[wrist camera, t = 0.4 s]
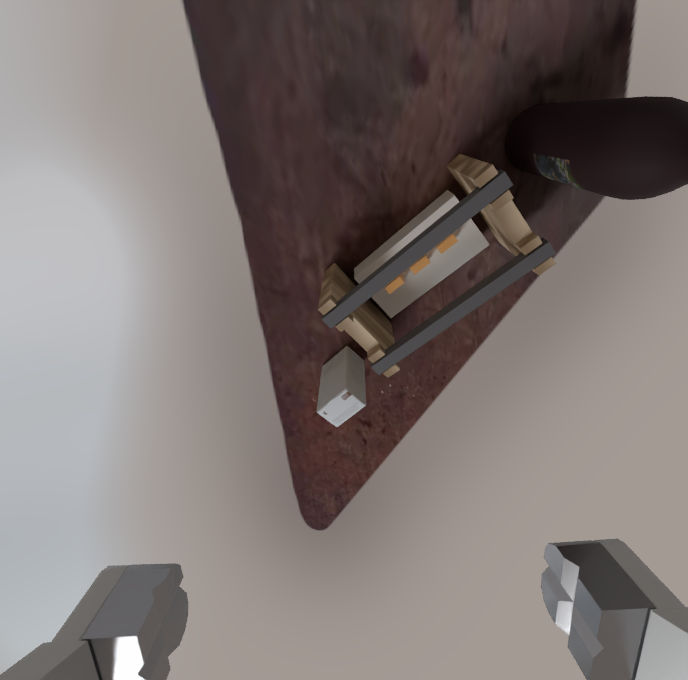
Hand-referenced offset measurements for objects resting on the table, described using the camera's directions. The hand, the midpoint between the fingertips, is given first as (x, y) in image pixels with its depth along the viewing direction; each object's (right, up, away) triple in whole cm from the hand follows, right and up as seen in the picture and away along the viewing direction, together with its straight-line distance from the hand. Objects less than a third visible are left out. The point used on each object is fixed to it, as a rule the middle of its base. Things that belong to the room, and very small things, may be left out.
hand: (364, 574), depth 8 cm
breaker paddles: (+10, +15, +41) cm, 45 cm away
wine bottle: (+22, +30, +37) cm, 53 cm away
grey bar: (+12, +9, +36) cm, 39 cm away
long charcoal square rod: (+6, +15, +33) cm, 37 cm away
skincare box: (-1, +2, +54) cm, 54 cm away
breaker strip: (+10, +17, +44) cm, 49 cm away
